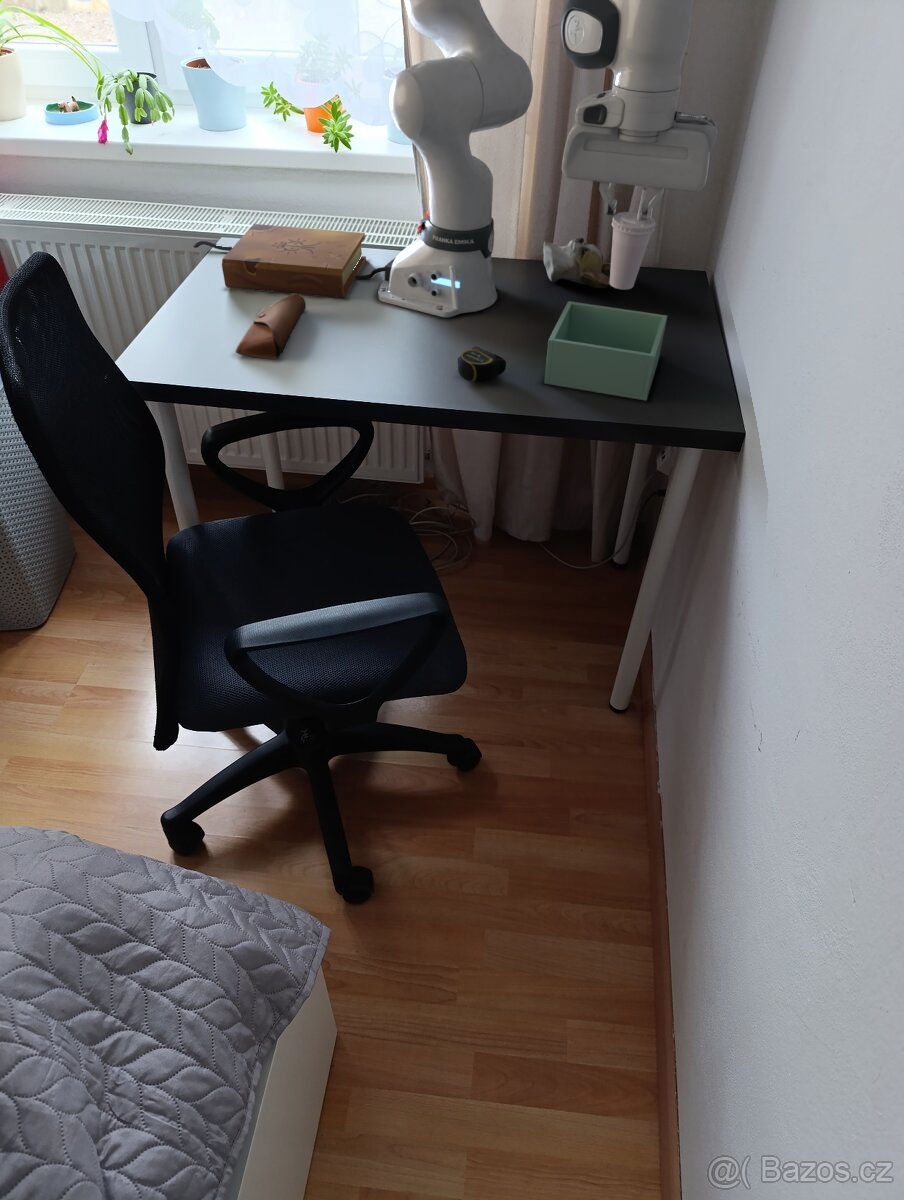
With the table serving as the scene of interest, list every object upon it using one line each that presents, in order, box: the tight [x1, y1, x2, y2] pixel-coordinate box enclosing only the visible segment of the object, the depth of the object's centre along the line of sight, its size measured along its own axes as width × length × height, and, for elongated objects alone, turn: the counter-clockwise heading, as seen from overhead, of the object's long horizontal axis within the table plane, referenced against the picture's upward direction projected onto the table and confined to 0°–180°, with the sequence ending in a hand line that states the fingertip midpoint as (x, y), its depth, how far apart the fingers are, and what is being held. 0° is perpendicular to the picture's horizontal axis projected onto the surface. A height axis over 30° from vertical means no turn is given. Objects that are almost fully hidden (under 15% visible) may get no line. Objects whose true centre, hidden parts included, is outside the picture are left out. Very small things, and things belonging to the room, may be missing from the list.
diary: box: [221, 223, 367, 299], centre depth 162 cm, size 23×19×6 cm
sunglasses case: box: [235, 293, 307, 360], centre depth 145 cm, size 18×7×7 cm, turn 174°
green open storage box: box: [544, 300, 668, 401], centre depth 136 cm, size 17×15×8 cm
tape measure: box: [457, 345, 507, 384], centre depth 135 cm, size 7×7×4 cm
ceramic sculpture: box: [542, 237, 612, 289], centre depth 160 cm, size 11×9×15 cm
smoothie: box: [609, 187, 657, 291], centre depth 123 cm, size 6×6×14 cm
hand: (627, 216), depth 121 cm, fingers closed on smoothie, 4 cm apart
